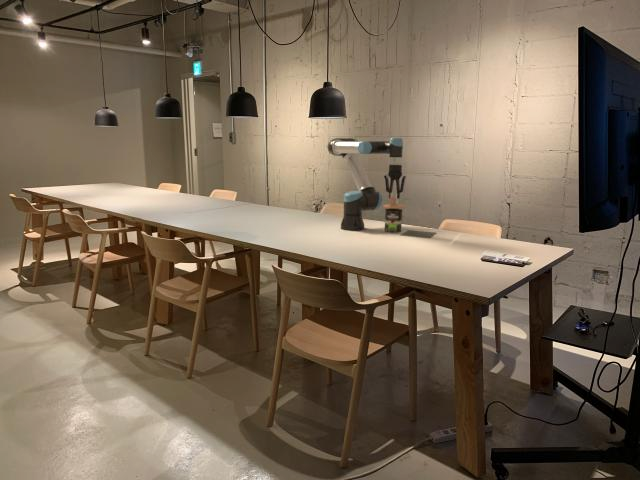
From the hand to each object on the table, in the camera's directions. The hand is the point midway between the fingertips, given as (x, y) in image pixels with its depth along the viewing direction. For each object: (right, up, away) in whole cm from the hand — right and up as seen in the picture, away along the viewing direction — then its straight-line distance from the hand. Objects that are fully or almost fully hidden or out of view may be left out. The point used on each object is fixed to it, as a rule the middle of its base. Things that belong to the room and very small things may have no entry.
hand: (394, 203), depth 287 cm
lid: (0, -2, 0) cm, 2 cm away
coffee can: (0, -17, +4) cm, 18 cm away
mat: (+14, -19, -3) cm, 24 cm away
